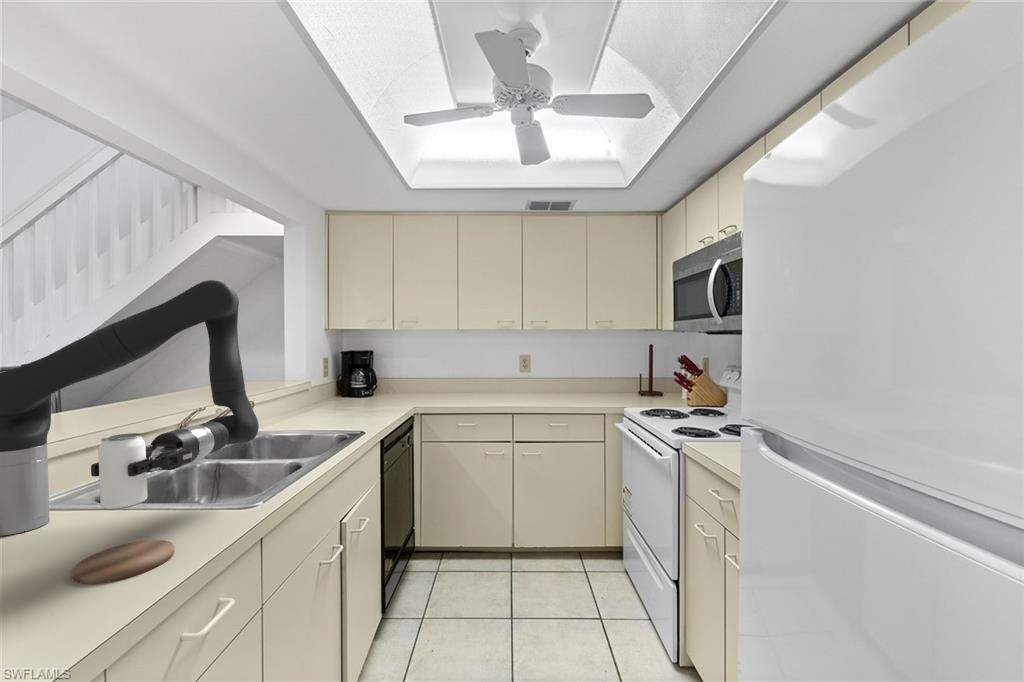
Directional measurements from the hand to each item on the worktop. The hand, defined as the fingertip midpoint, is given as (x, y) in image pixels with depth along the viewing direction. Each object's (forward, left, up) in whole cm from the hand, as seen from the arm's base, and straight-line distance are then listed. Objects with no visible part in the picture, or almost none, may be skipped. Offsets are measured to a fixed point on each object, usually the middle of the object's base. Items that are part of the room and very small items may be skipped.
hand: (111, 470), depth 81 cm
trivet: (0, +2, -17) cm, 17 cm away
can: (-1, +2, -7) cm, 7 cm away
